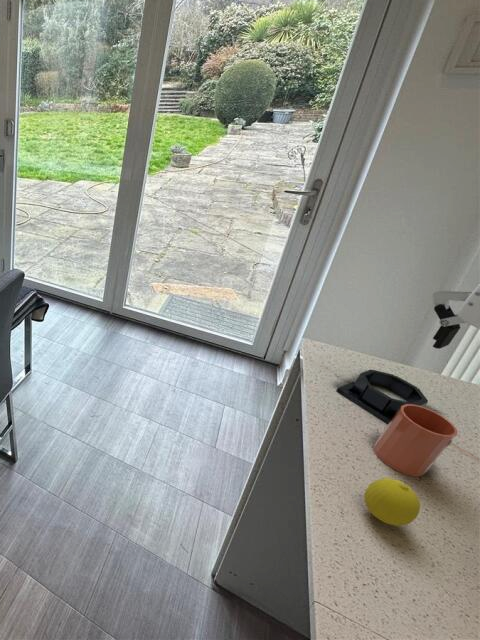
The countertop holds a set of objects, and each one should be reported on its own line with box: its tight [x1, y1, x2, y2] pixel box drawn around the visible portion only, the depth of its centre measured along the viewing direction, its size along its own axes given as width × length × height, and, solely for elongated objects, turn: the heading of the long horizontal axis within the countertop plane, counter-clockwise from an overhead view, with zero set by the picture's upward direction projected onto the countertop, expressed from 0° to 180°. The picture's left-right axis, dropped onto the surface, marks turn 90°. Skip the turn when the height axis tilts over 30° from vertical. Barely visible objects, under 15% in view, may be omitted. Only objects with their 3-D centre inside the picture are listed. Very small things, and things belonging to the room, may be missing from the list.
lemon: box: [363, 477, 421, 527], centre depth 62 cm, size 6×6×8 cm
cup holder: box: [335, 369, 429, 425], centre depth 83 cm, size 11×11×4 cm
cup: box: [373, 404, 458, 477], centre depth 70 cm, size 7×7×10 cm
